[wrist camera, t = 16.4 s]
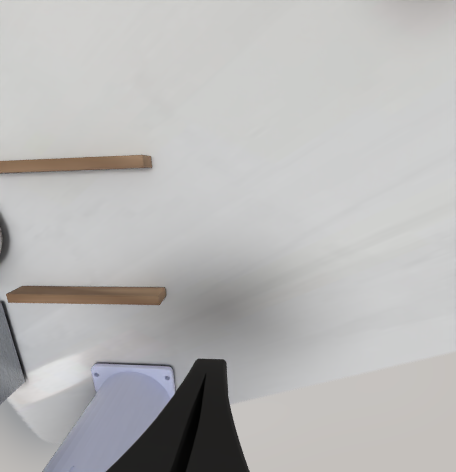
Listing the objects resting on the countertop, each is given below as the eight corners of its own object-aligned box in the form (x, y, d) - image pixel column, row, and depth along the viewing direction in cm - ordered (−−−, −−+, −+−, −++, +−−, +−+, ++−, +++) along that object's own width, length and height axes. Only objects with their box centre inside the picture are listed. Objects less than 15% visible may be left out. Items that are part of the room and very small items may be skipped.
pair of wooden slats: (166, 295, 21) (159, 304, 20) (24, 294, 22) (8, 302, 21) (151, 156, 18) (142, 155, 17) (-12, 163, 19) (-33, 162, 18)
